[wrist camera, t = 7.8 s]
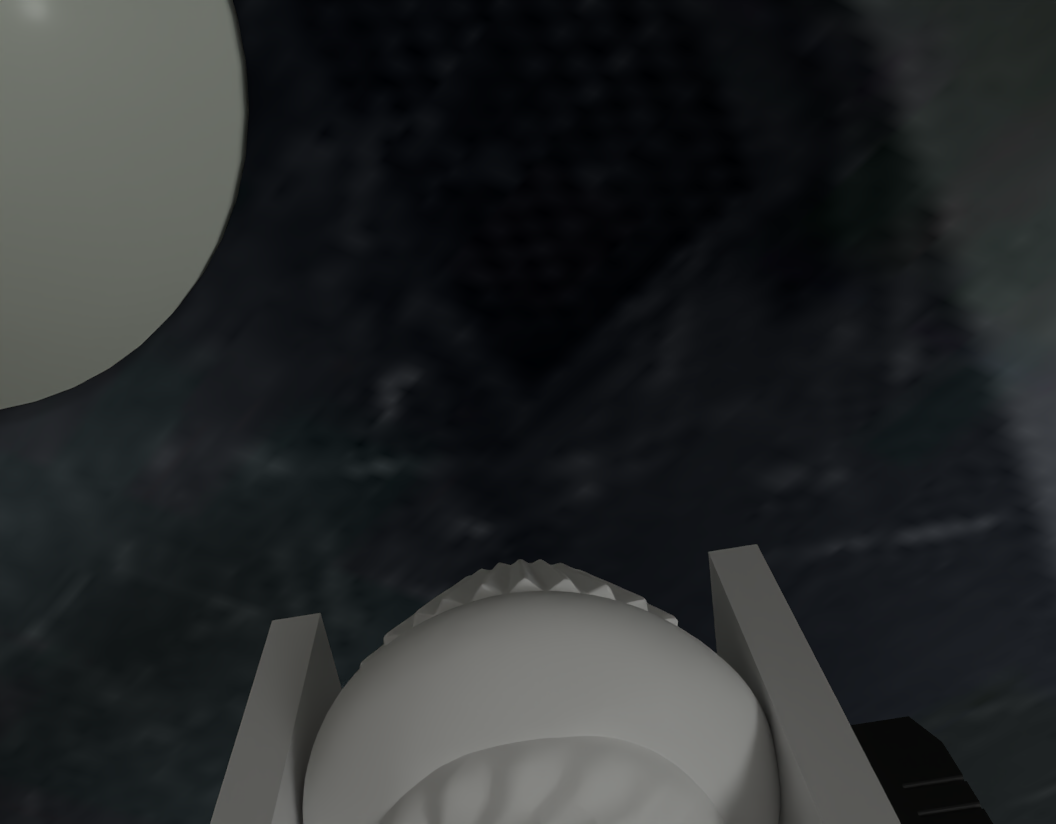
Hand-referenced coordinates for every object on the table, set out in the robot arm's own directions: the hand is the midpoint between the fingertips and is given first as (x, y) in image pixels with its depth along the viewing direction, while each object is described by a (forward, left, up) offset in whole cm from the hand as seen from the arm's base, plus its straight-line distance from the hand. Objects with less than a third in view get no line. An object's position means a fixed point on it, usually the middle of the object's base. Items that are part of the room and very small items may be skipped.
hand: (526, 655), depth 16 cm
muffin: (0, 0, 0) cm, 0 cm away
